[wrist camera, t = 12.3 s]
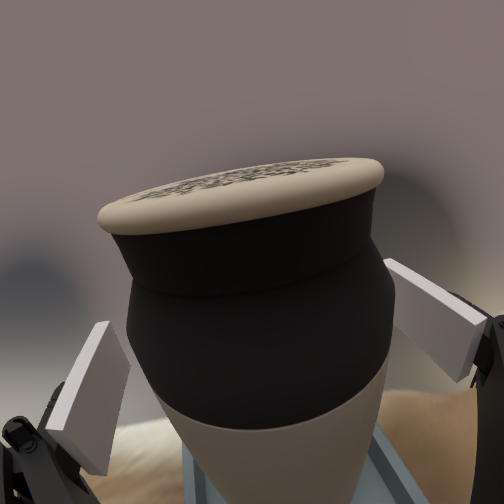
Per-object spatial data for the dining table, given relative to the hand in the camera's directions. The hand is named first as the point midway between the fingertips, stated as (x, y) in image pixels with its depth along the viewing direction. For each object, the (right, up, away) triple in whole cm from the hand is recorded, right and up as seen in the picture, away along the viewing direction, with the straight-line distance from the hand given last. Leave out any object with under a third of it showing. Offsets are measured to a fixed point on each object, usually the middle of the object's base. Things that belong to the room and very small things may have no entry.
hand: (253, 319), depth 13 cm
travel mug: (+3, -12, +1) cm, 12 cm away
